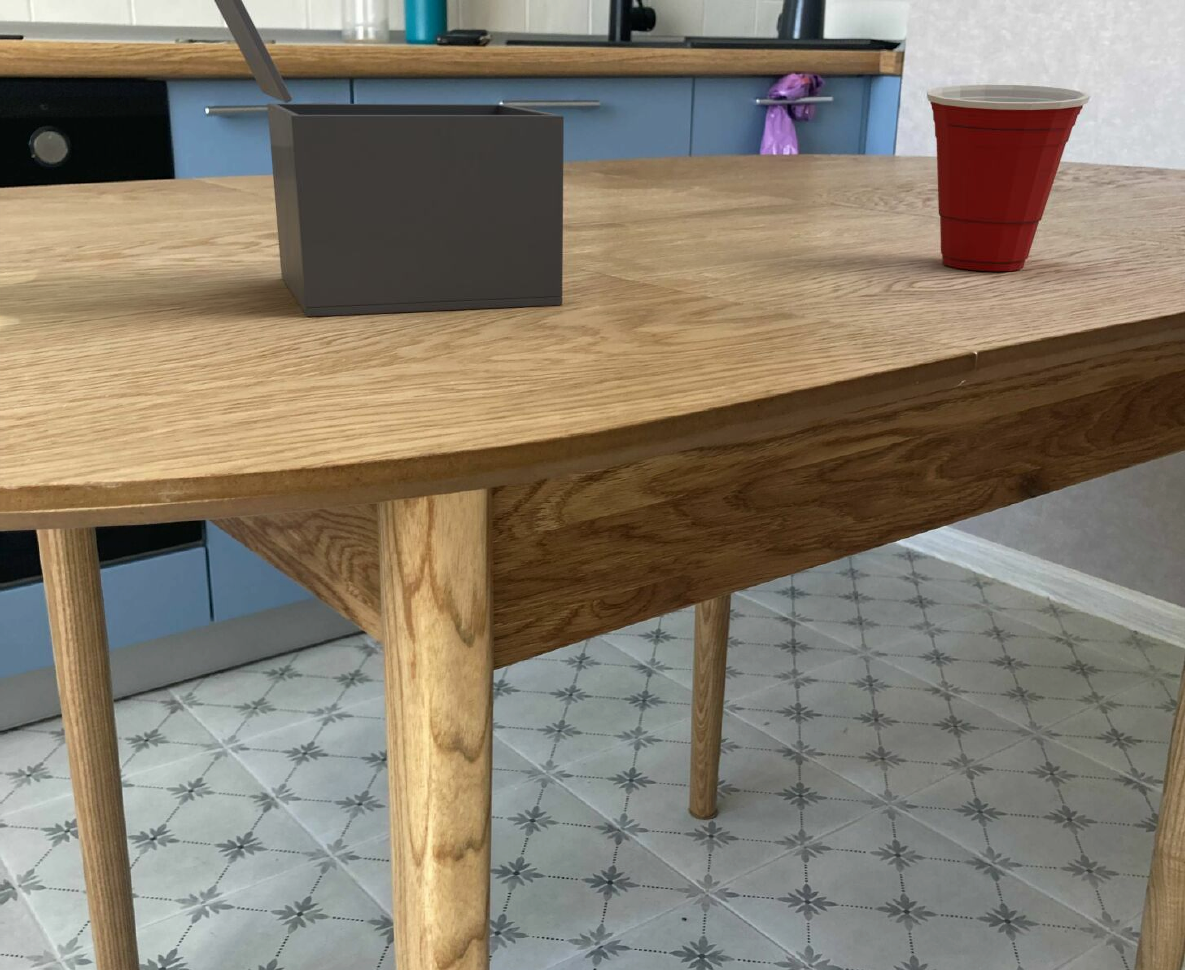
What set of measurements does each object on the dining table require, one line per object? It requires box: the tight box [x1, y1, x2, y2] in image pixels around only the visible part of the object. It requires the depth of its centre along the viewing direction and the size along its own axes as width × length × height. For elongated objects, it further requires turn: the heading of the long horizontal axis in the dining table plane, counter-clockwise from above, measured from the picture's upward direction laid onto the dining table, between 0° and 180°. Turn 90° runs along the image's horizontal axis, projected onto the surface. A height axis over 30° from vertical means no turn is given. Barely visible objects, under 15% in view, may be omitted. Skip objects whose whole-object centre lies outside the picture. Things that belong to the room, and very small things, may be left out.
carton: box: [266, 102, 565, 318], centre depth 76 cm, size 15×13×10 cm
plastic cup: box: [926, 84, 1091, 272], centre depth 88 cm, size 11×11×12 cm
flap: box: [213, 0, 293, 104], centre depth 69 cm, size 7×13×1 cm
